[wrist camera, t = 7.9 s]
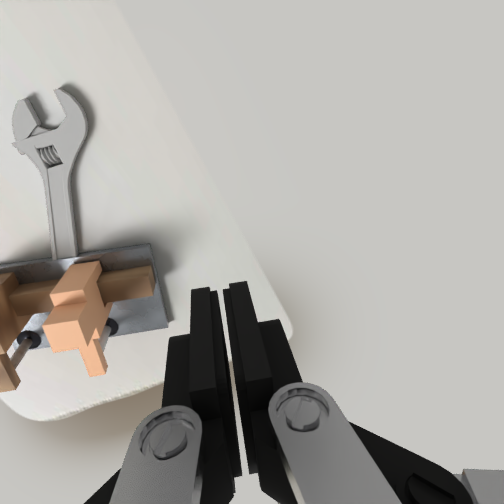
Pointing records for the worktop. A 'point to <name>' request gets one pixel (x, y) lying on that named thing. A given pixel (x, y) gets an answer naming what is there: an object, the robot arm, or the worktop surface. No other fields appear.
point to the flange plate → (122, 312)
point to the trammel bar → (39, 301)
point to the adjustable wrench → (52, 151)
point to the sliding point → (80, 316)
